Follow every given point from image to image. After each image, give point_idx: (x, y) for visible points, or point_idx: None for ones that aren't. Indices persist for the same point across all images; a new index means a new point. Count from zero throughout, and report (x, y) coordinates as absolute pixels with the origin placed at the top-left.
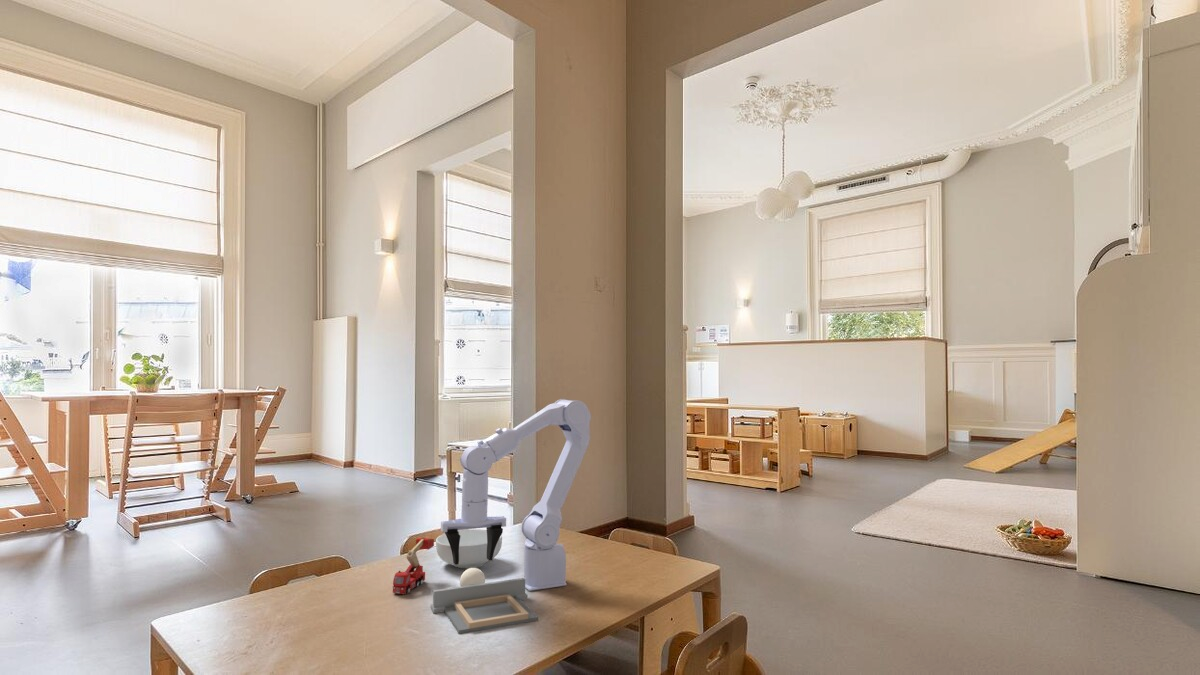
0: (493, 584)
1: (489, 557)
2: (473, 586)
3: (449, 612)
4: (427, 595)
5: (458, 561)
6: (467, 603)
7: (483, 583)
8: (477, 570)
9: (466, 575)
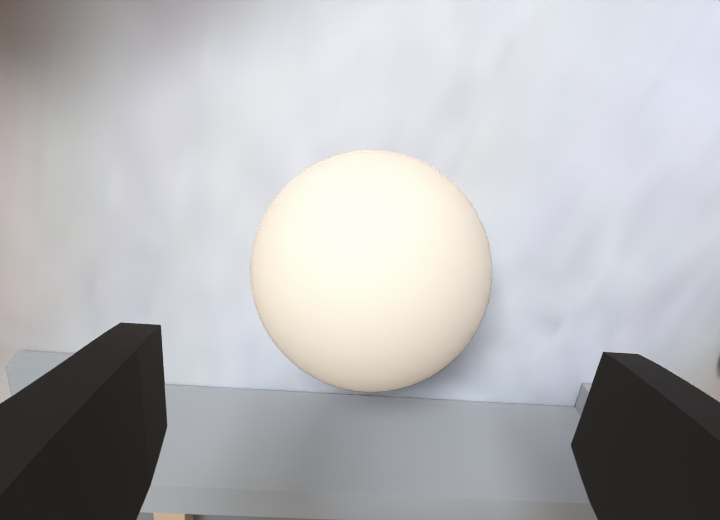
0: (441, 515)
1: (585, 483)
2: (281, 516)
3: None
4: (6, 80)
5: (152, 463)
6: None
7: (375, 497)
8: (410, 370)
9: (288, 352)
